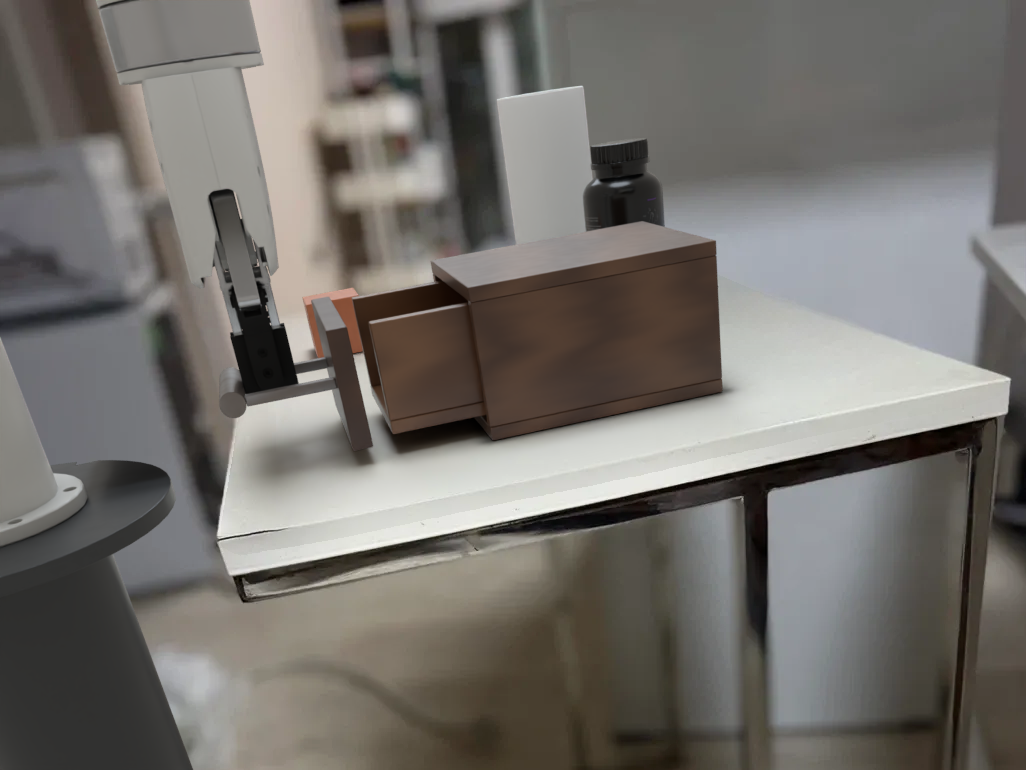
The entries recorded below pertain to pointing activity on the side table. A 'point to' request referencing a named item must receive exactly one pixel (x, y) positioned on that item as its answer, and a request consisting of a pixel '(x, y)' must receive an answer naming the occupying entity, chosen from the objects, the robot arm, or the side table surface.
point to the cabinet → (590, 324)
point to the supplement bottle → (622, 186)
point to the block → (345, 310)
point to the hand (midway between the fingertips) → (274, 397)
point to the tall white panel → (546, 161)
